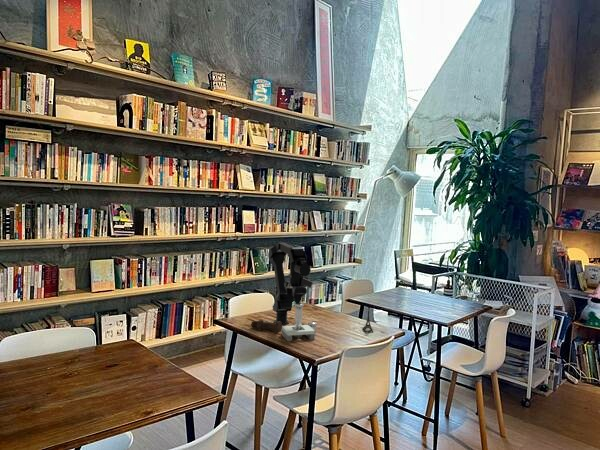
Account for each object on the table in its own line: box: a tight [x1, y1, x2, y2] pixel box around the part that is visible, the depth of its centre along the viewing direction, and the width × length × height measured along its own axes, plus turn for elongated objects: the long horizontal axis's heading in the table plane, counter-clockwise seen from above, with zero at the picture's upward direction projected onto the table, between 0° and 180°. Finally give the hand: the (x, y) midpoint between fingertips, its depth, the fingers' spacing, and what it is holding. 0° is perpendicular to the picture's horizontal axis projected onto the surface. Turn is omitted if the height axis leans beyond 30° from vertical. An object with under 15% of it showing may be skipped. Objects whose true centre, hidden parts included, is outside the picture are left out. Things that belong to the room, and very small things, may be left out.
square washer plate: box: [281, 324, 316, 342], centre depth 205 cm, size 10×13×4 cm
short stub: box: [307, 321, 318, 334], centre depth 213 cm, size 4×4×5 cm
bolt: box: [250, 319, 283, 333], centre depth 215 cm, size 6×5×15 cm
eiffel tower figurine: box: [351, 307, 386, 334], centre depth 219 cm, size 15×10×13 cm
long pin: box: [293, 302, 305, 339], centre depth 205 cm, size 4×4×16 cm
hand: (294, 304), depth 214 cm, fingers open, 9 cm apart
